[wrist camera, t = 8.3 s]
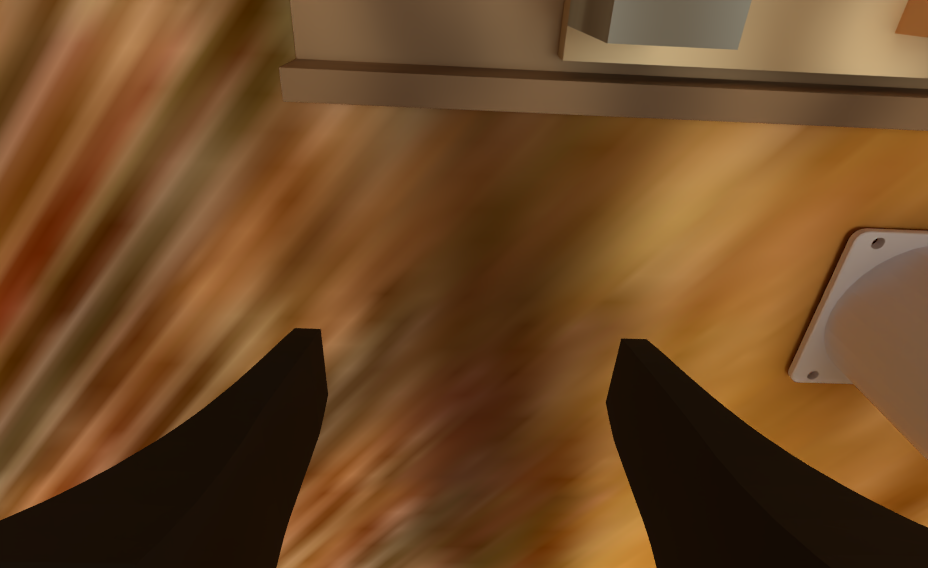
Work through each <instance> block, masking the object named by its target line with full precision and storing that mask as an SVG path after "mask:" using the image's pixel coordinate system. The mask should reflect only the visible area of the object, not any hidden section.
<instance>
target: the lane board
mask: <svg viewBox="0 0 928 568" xmlns="http://www.w3.org/2000/svg"><path fill="white" fill-rule="evenodd" d="M564 2H565V0H290V5H291V14H292V23H293V33H294V42H295V51H296V59H295V60H293V61H291V62H289V63H287V64H285V65H283V66H281V67H279V72H280V81H281V89H282V97H283V101H285V102H307V103H329V104H351V105H373V106H395V107H417V108H439V109H462V110H484V111H506V112H528V113H550V114H572V115H594V116H616V117H638V118H660V119H682V120H704V121H726V122H748V123H771V124H793V125H815V126H837V127H859V128H881V129H903V130H925V131H928V78H911V77H890V76H869V75H849V74H828V73H808V72H787V71H766V70H746V69H725V68H705V67H684V66H663V65H643V64H622V63H602V62H581V61H563V60H561V59H560V58H559V57H558V50H559V42H560V34H561V26H562V18H563V10H564Z"/></svg>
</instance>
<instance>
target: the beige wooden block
mask: <svg viewBox="0 0 928 568" xmlns="http://www.w3.org/2000/svg"><path fill="white" fill-rule="evenodd" d="M907 2H908V0H565V2H564V10H563V18H562V26H561V34H560V42H559V50H558V57H559V58H560V59H561V60H563V61H581V62H602V63H622V64H643V65H663V66H684V67H705V68H725V69H746V70H766V71H787V72H808V73H828V74H849V75H869V76H890V77H911V78H928V38H927V37H919V36H912V35H904V34H896V33H895V31H896V29H897V26H898V24H899V21H900V19H901V17H902V14H903V12H904V9H905V7H906V5H907Z"/></svg>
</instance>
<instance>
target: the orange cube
mask: <svg viewBox="0 0 928 568" xmlns="http://www.w3.org/2000/svg"><path fill="white" fill-rule="evenodd" d="M895 33H896V34H904V35H912V36H919V37H927V38H928V0H908V2H907V5H906V7H905V9H904V12H903V14H902V17H901V19H900V21H899V24H898V26H897V29H896V31H895Z"/></svg>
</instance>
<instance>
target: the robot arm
mask: <svg viewBox="0 0 928 568" xmlns="http://www.w3.org/2000/svg"><path fill="white" fill-rule="evenodd" d="M877 238H878V240H877V241H876V242H875V243H874V244H872V242H873V241H874V240H875V239H877ZM812 371H813V372H812ZM810 372H811V373H810ZM809 373H810V374H809ZM788 375H789V376H790V378H791V379H792V380H793V381H795V382H802V383H836V384H854V385H855V386H856V387H857V388H858V389H859V390H860V391H861V392H862V393H863V394H864V395H865V396H866V397H867V398H868V399H869V400H870V401H871V403H872V404H873V405H874V406H875V407H876V408H877V409H878V410H879V411H880V412H881V413H882V414H883V415H884V416H885V417H886V418H887V419H888V420H889V421H890V422H891V423H892V424H893V425H894V426H895V427H896V428H897V429H898V430H899V431H900V432H901V433H902V434H903V435H904V436H905V437H906V439H907V440H908V441H909V442H910V443H911V444H912V445H913V446H914V447H915V448H916V449H917V450H918V451H919V452H920V453H921V454H922V455H923V456H924V457H925V458H926V459H927V460H928V231H922V230H896V229H871V228H865V229H860V230H858V231H856V232H855V233H853V234H852V235H851V237H850V238H849V240H848V242H847V244H846V247H845V249H844V251H843V253H842V255H841V257H840V260H839V262H838V264H837V266H836V268H835V270H834V273H833V275H832V277H831V279H830V281H829V283H828V286H827V288H826V290H825V292H824V294H823V296H822V299H821V301H820V303H819V305H818V307H817V309H816V312H815V314H814V316H813V318H812V320H811V323H810V325H809V327H808V329H807V331H806V333H805V336H804V338H803V340H802V342H801V344H800V346H799V349H798V351H797V353H796V355H795V357H794V359H793V362H792V364H791V366H790V368H789V371H788ZM327 397H328V390H327V381H326V372H325V363H324V355H323V346H322V337H321V329H303V328H295V329H293V330H292V331H291V332H290V333H289V334H288V335H287V336H286V337H284V338H283V339H282V340H281V341H280V342H279V343H278V344H277V345H276V346H275V347H274V348H273V349H272V350H271V351H270V352H269V353H267V354H266V355H265V356H264V357H263V358H262V359H261V360H260V361H259V362H258V363H257V364H256V365H254V366H253V367H252V368H251V369H250V370H249V371H248V372H247V373H245V374H244V375H243V376H242V377H241V378H240V379H239V380H238V381H237V382H235V383H234V384H233V385H232V386H231V387H229V388H228V389H227V390H226V391H224V392H223V393H222V394H221V395H220V396H218V397H217V398H216V399H215V400H213V401H212V402H211V403H210V404H208V405H207V406H206V407H205V408H203V409H202V410H201V411H199V412H198V413H197V414H195V415H194V416H192V417H191V418H190V419H188V420H187V421H186V422H184V423H183V424H181V425H180V426H178V427H177V428H175V429H174V430H172V431H171V432H169V433H168V434H166V435H165V436H163V437H162V438H160V439H159V440H157V441H155V442H154V443H152V444H150V445H149V446H147V447H145V448H144V449H142V450H140V451H139V452H137V453H135V454H134V455H132V456H130V457H128V458H127V459H125V460H123V461H122V462H120V463H118V464H117V465H115V466H113V467H111V468H110V469H108V470H106V471H104V472H102V473H100V474H98V475H96V476H94V477H93V478H91V479H89V480H87V481H85V482H83V483H81V484H79V485H77V486H75V487H73V488H71V489H69V490H67V491H65V492H63V493H61V494H59V495H57V496H55V497H52V498H50V499H48V500H46V501H44V502H42V503H40V504H37V505H35V506H33V507H30V508H28V509H26V510H23V511H21V512H19V513H17V514H14V515H12V516H10V517H7V518H5V519H3V520H0V568H276V567H277V563H278V559H279V555H280V551H281V547H282V543H283V539H284V535H285V532H286V529H287V525H288V522H289V519H290V516H291V513H292V510H293V507H294V505H295V502H296V499H297V496H298V493H299V491H300V488H301V485H302V482H303V479H304V477H305V474H306V471H307V468H308V465H309V463H310V460H311V457H312V454H313V451H314V448H315V445H316V443H317V440H318V437H319V434H320V430H321V425H322V421H323V417H324V412H325V407H326V402H327ZM606 406H607V411H608V416H609V421H610V425H611V430H612V434H613V438H614V442H615V445H616V448H617V450H618V453H619V456H620V459H621V462H622V465H623V467H624V470H625V473H626V476H627V478H628V481H629V484H630V487H631V489H632V492H633V495H634V497H635V500H636V503H637V506H638V508H639V511H640V514H641V517H642V519H643V522H644V525H645V528H646V531H647V534H648V537H649V541H650V544H651V547H652V551H653V555H654V559H655V563H656V567H657V568H928V528H927V527H925V526H923V525H921V524H918V523H916V522H914V521H912V520H910V519H907V518H905V517H903V516H901V515H899V514H897V513H895V512H893V511H891V510H889V509H887V508H885V507H883V506H881V505H879V504H877V503H875V502H873V501H871V500H869V499H867V498H865V497H864V496H862V495H860V494H858V493H856V492H854V491H852V490H851V489H849V488H847V487H845V486H843V485H841V484H840V483H838V482H836V481H834V480H833V479H831V478H829V477H828V476H826V475H824V474H822V473H821V472H819V471H817V470H816V469H814V468H812V467H810V466H809V465H807V464H805V463H804V462H802V461H801V460H799V459H797V458H796V457H794V456H793V455H791V454H790V453H788V452H787V451H785V450H784V449H782V448H781V447H779V446H778V445H776V444H775V443H773V442H772V441H770V440H769V439H767V438H766V437H764V436H763V435H761V434H760V433H759V432H757V431H756V430H754V429H753V428H752V427H750V426H749V425H748V424H746V423H745V422H744V421H742V420H741V419H740V418H739V417H737V416H736V415H735V414H733V413H732V412H731V411H730V410H728V409H727V408H726V407H724V406H723V405H722V404H721V403H720V402H718V401H717V400H716V399H715V398H713V397H712V396H711V395H710V394H709V393H707V392H706V391H705V390H704V389H703V388H702V387H700V386H699V385H698V384H697V383H696V382H695V381H693V380H692V379H691V378H690V377H689V376H688V375H687V374H686V373H684V372H683V371H682V370H681V369H680V368H679V367H678V366H677V365H675V364H674V363H673V362H672V361H671V360H670V359H669V358H668V357H666V356H665V355H664V354H663V353H662V352H661V351H660V350H659V349H657V348H656V347H655V346H654V345H653V344H652V343H650V342H649V341H648V340H647V339H621V342H620V346H619V351H618V355H617V359H616V363H615V367H614V371H613V375H612V379H611V383H610V387H609V391H608V396H607V400H606Z"/></svg>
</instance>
